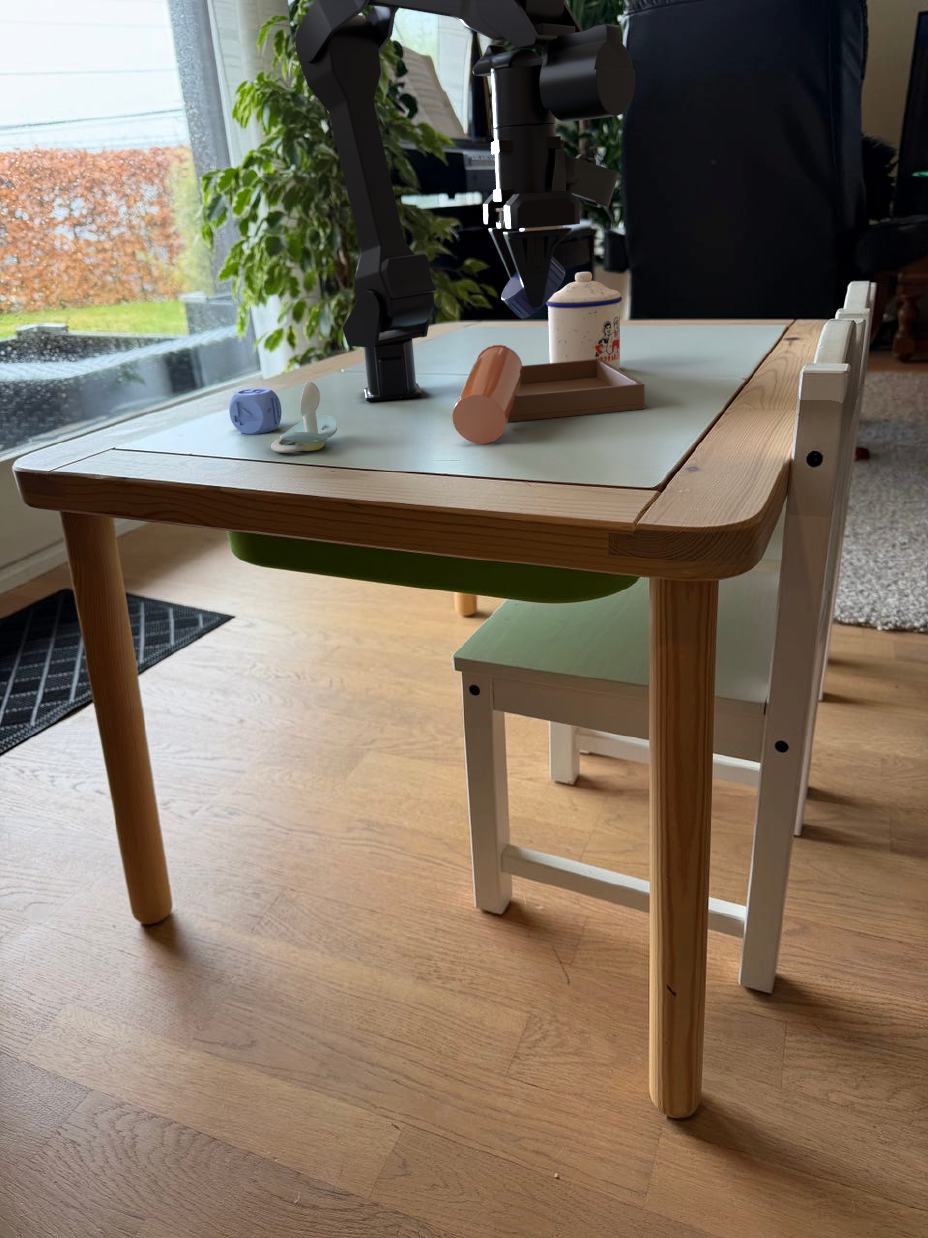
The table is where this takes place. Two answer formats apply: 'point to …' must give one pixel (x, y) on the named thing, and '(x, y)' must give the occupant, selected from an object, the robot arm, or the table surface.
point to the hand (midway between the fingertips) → (530, 303)
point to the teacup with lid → (584, 322)
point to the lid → (517, 297)
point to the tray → (575, 390)
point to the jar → (488, 395)
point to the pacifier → (307, 425)
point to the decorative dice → (255, 410)
